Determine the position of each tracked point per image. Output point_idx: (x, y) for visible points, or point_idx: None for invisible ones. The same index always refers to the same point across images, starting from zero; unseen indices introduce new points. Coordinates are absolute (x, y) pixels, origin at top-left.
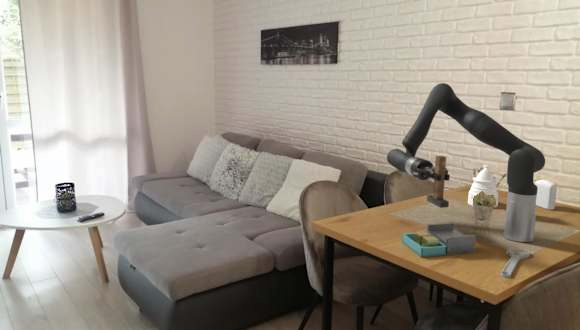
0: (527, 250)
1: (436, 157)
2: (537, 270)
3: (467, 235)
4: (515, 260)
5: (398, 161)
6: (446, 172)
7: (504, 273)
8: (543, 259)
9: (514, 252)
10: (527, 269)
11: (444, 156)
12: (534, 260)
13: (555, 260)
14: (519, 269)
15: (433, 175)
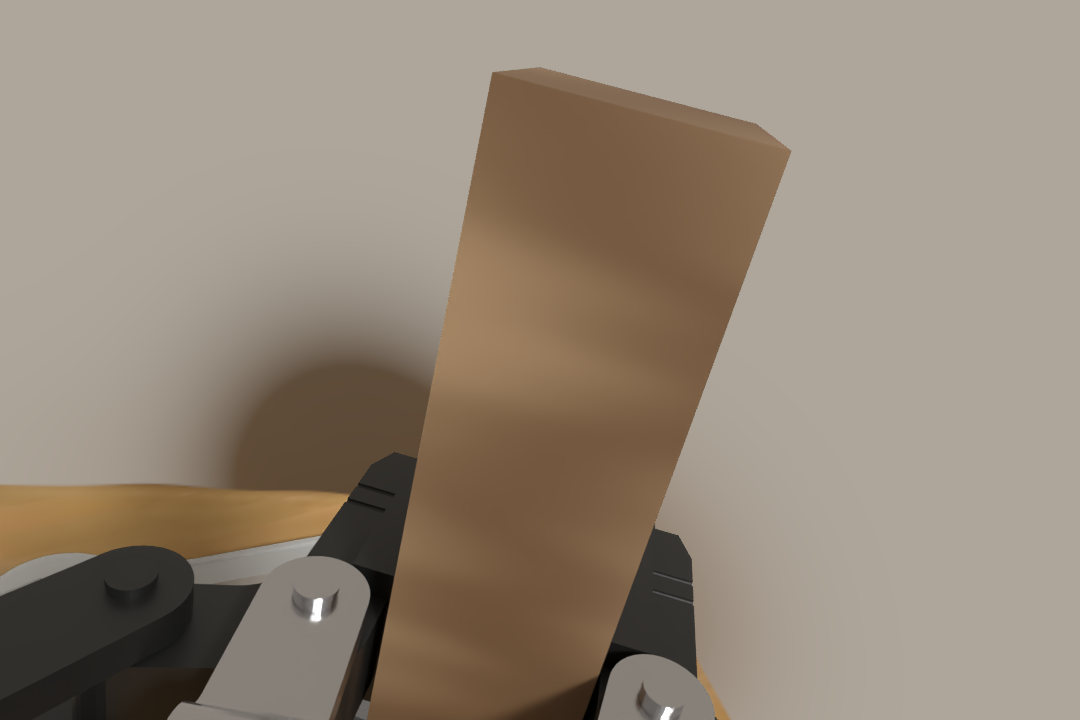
0: (10, 575)
1: (763, 196)
2: (257, 496)
3: (357, 711)
4: (253, 557)
5: None
6: (186, 582)
7: None
8: (57, 522)
9: None
10: (284, 519)
11: (537, 71)
12: (115, 539)
13: (25, 491)
14: (317, 534)
15: (689, 646)
